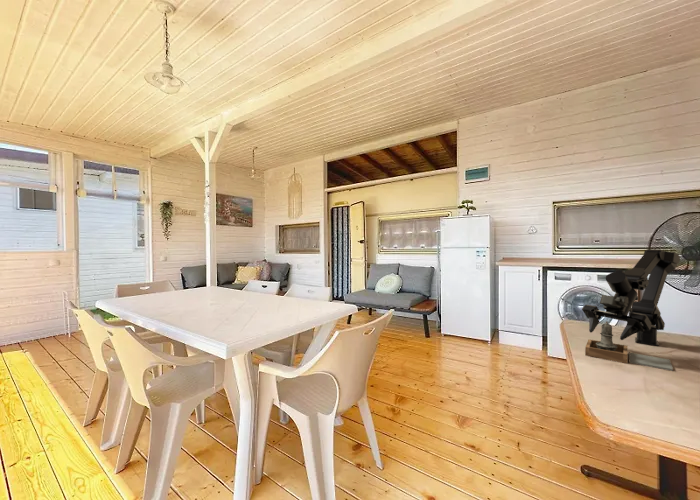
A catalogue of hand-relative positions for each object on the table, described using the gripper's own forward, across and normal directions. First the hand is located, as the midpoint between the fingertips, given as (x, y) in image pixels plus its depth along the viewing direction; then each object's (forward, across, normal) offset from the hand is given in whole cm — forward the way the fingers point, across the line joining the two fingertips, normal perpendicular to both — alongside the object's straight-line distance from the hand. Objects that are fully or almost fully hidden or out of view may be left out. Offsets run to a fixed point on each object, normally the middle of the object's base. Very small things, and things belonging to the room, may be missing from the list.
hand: (605, 335), depth 108 cm
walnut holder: (+4, 0, +6) cm, 7 cm away
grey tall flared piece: (+4, 0, +6) cm, 7 cm away
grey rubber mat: (0, +10, +9) cm, 14 cm away
